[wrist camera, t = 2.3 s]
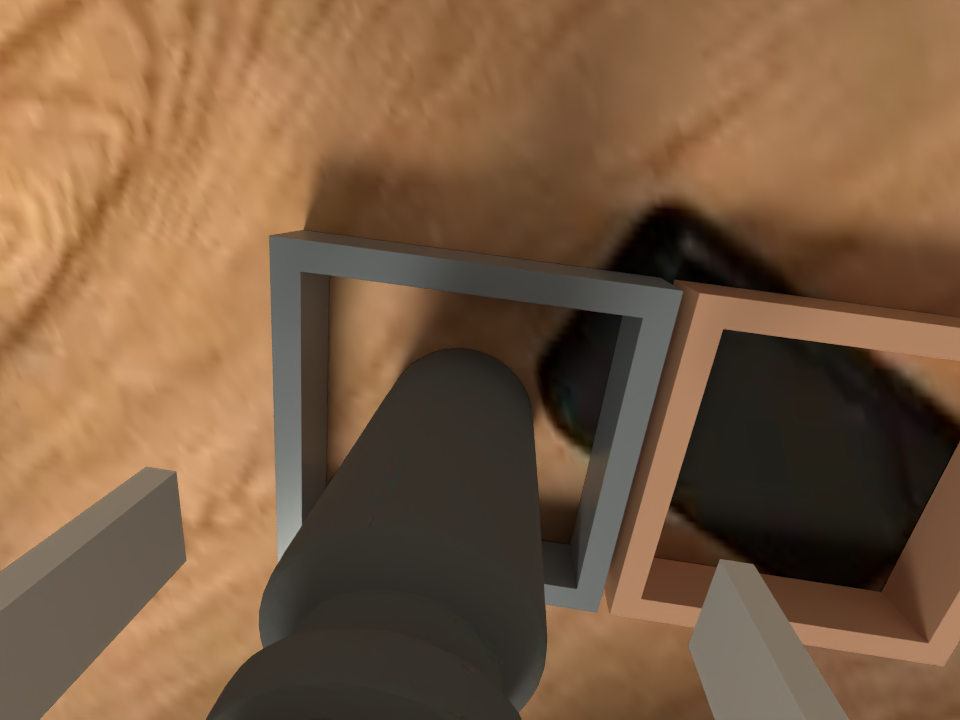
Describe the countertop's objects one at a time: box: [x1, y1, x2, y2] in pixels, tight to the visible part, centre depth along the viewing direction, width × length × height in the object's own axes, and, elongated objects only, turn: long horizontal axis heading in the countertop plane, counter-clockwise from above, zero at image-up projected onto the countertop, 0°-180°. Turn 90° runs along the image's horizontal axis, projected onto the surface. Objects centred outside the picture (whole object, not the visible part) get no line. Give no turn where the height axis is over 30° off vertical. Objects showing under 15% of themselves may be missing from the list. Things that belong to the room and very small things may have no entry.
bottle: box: [206, 349, 547, 720], centre depth 12 cm, size 6×6×15 cm
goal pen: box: [604, 280, 960, 666], centre depth 18 cm, size 13×13×2 cm
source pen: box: [269, 230, 683, 612], centre depth 18 cm, size 13×13×2 cm
